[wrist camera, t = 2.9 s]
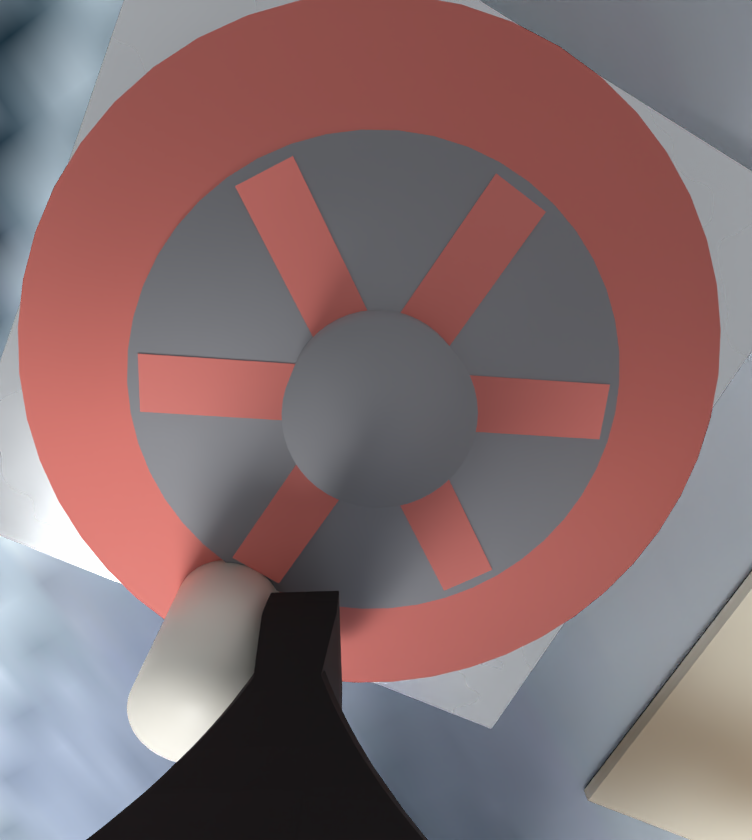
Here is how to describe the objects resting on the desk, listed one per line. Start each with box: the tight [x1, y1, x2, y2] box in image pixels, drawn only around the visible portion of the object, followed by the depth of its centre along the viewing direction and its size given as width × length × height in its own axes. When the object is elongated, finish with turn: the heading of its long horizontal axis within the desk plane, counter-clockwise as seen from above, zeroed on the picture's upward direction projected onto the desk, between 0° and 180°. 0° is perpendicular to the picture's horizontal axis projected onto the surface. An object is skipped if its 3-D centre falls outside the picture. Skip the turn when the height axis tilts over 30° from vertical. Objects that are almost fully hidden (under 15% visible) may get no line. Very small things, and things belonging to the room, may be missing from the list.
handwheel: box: [18, 0, 721, 762], centre depth 10 cm, size 12×12×4 cm
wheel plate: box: [0, 0, 752, 729], centre depth 12 cm, size 13×13×1 cm
